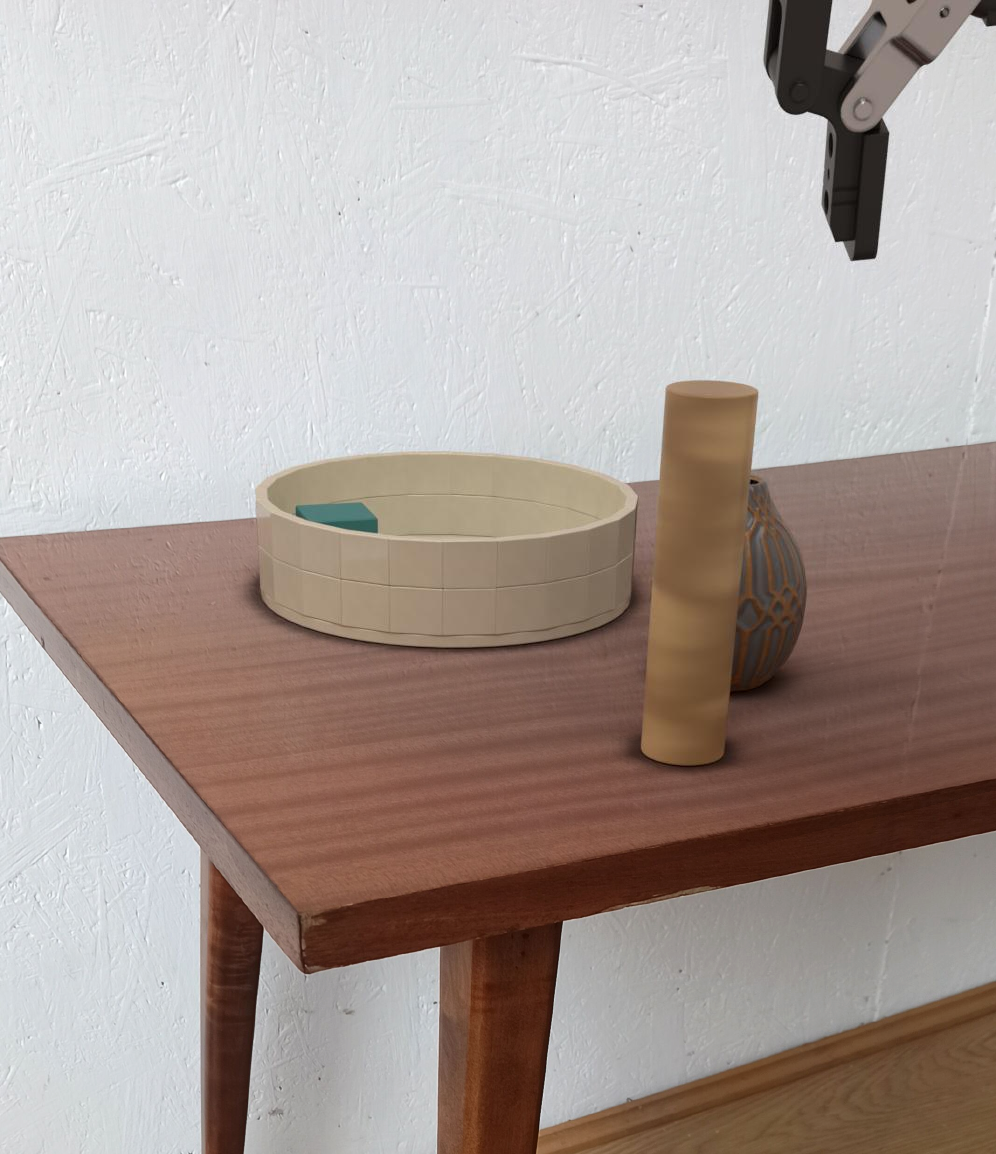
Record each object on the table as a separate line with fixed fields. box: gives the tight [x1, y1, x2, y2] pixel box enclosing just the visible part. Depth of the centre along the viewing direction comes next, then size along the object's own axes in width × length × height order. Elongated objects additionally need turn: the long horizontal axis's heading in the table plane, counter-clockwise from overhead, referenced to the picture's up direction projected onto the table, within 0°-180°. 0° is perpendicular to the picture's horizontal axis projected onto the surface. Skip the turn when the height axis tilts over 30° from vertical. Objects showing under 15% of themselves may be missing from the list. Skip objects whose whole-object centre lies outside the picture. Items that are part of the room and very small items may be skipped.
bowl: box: [254, 450, 639, 649], centre depth 88 cm, size 19×19×5 cm
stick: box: [640, 379, 759, 767], centre depth 67 cm, size 3×3×14 cm
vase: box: [649, 474, 808, 692], centre depth 76 cm, size 7×7×9 cm
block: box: [295, 502, 378, 534], centre depth 87 cm, size 4×4×4 cm
